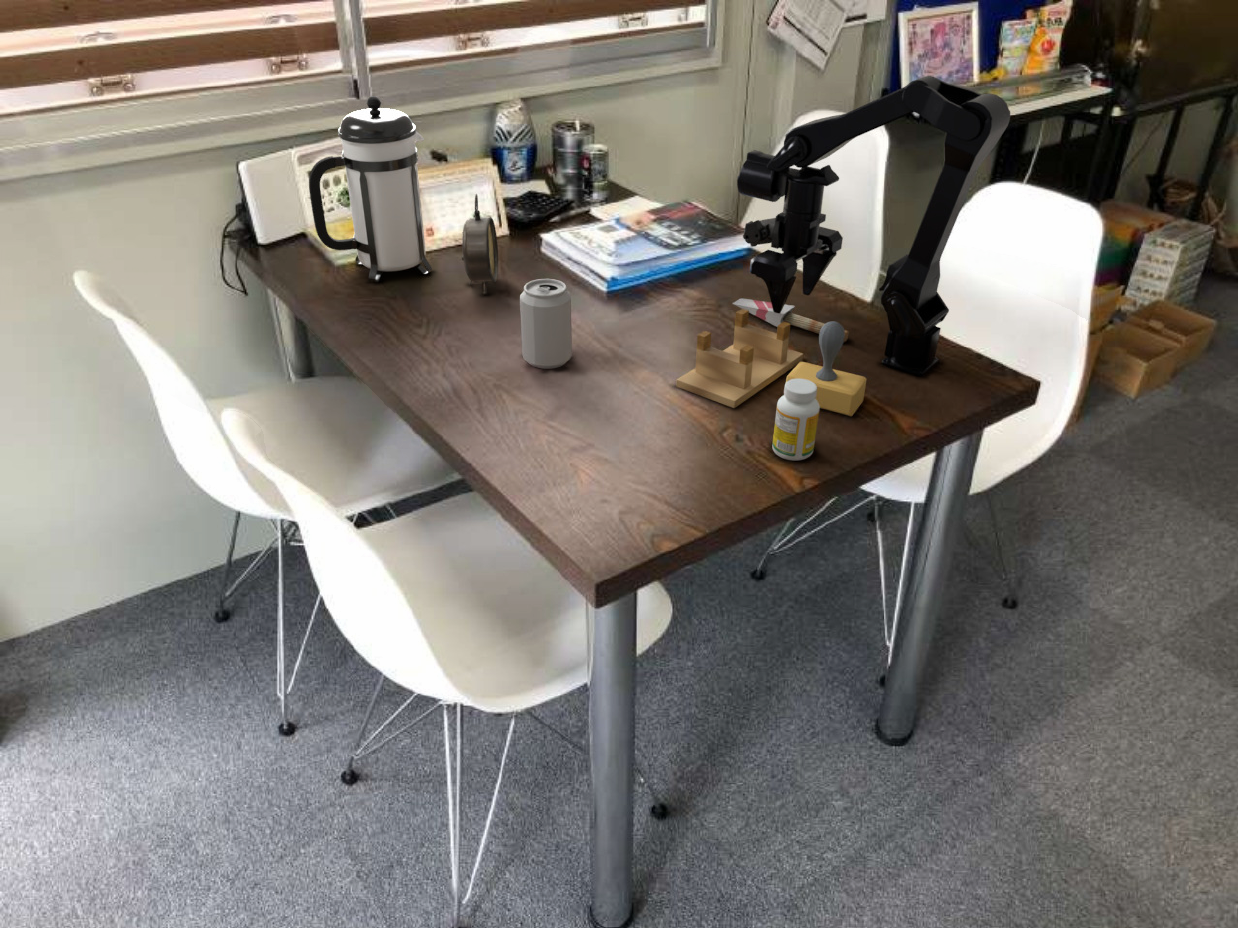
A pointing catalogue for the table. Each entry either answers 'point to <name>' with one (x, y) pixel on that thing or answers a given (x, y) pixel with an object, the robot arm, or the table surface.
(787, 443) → the supplement bottle
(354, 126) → the coffee press
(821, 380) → the rubber stamp
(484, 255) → the alarm clock
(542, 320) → the can
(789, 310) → the paintbrush
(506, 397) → the table surface
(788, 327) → the brush rack
